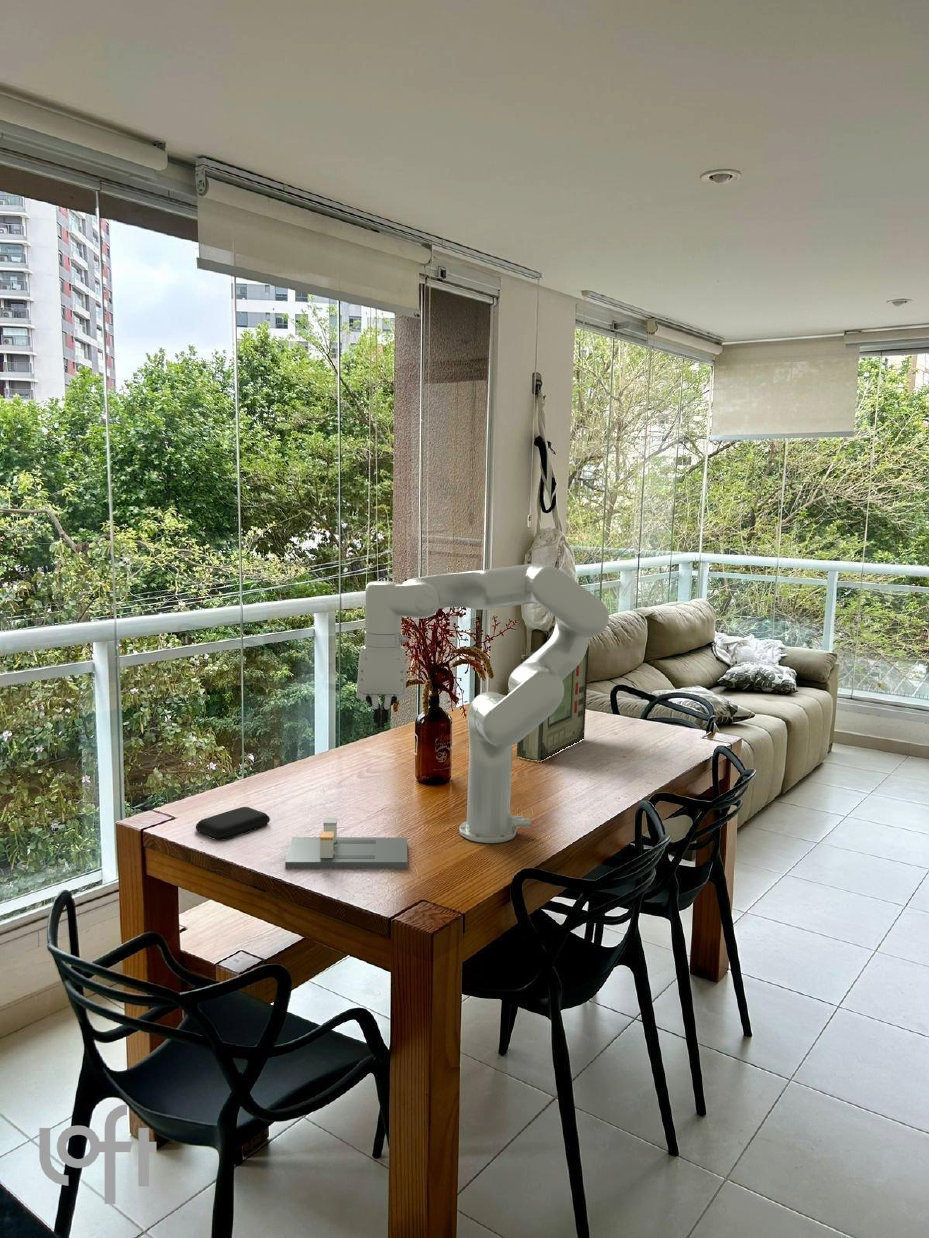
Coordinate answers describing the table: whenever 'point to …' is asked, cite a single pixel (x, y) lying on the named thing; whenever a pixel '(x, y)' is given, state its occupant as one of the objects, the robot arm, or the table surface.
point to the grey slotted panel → (349, 853)
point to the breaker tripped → (326, 844)
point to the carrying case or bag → (232, 823)
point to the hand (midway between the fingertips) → (380, 726)
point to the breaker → (330, 826)
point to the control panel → (559, 718)
